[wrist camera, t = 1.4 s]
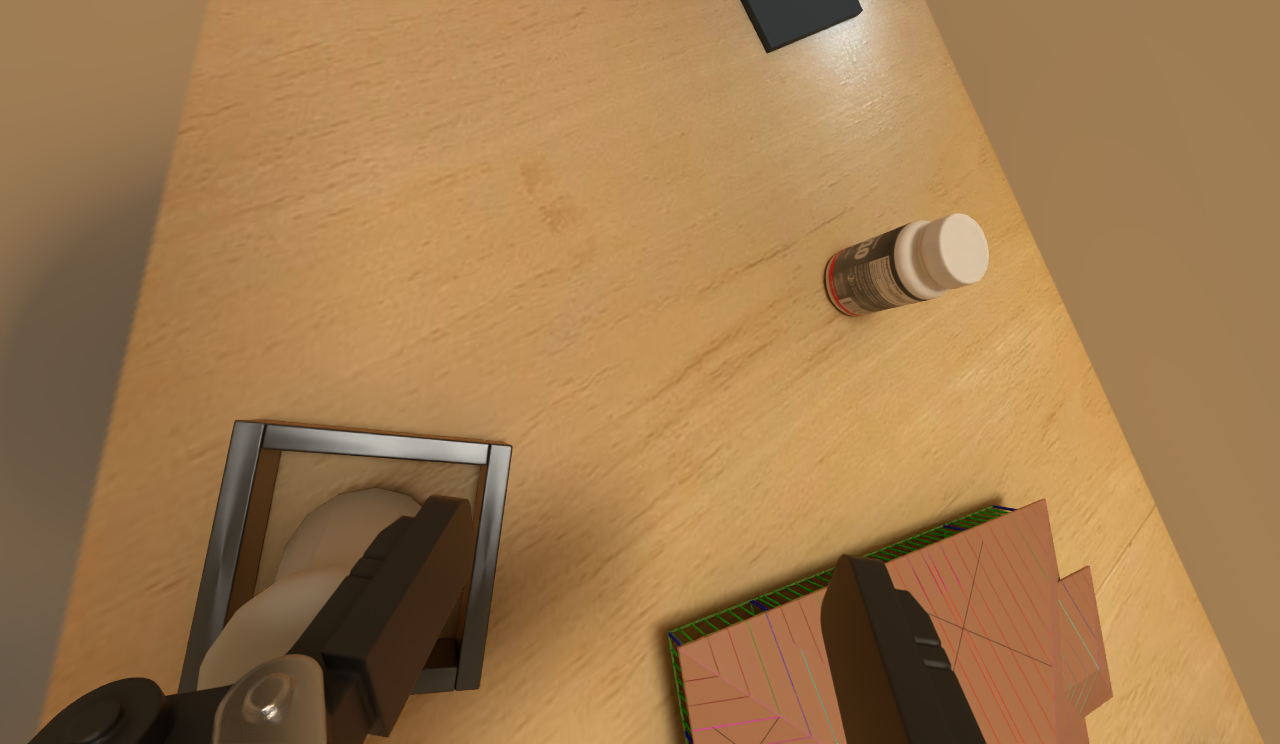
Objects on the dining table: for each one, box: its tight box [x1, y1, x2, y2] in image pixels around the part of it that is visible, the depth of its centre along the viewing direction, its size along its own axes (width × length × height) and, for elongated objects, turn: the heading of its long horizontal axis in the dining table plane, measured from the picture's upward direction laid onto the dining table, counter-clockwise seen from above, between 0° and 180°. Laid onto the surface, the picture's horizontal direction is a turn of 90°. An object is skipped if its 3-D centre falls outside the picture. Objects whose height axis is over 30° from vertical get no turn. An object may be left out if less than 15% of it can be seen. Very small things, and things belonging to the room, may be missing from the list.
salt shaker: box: [197, 488, 421, 741], centre depth 17 cm, size 6×6×13 cm
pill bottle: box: [826, 213, 989, 316], centre depth 31 cm, size 5×5×8 cm
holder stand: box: [177, 419, 513, 695], centre depth 21 cm, size 10×10×3 cm
